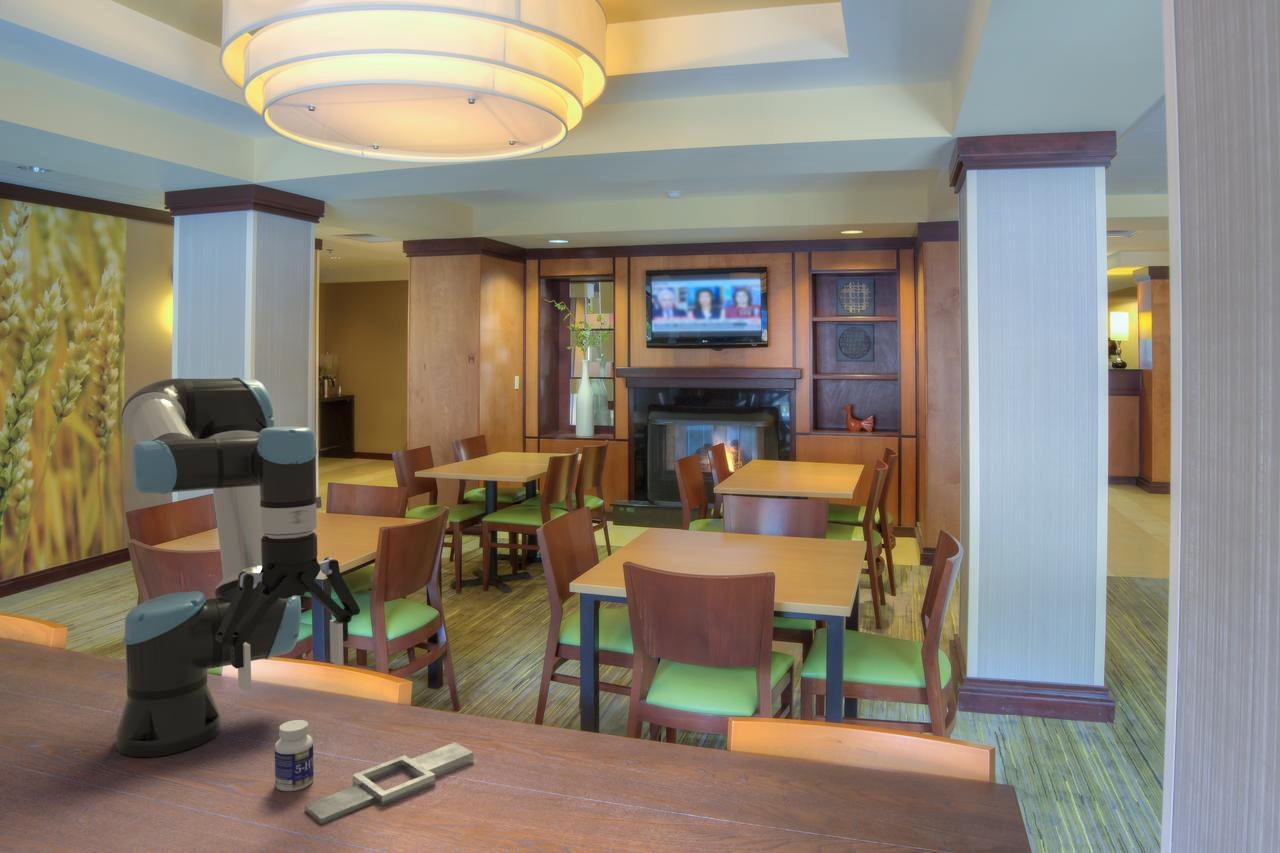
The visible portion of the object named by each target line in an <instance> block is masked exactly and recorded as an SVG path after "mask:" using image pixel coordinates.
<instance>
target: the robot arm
mask: <svg viewBox="0 0 1280 853" xmlns="http://www.w3.org/2000/svg"><path fill="white" fill-rule="evenodd" d="M120 415H121V424H122V426H123V427H122V428H123V429H124V431H125V433H126V435H128V436H129V438H131V439H132V440H133V441H134V442H136V443H135V444H133V446H132V449H131V475H132V481H133V488H134V489H135V491H136V492H138V493H140V494H160V495H165V494H170V493H178V492H192V491H203V490H213V491H212V492H213V500H214V508H215V516H216V519H215V520H216V526H217V527H216V528H217V533H218V534H217V535H218V536H217V537H218V544H219V552H220V561H221V570H222V580H221V581H220V582H219V584H217V586H216V587H215V588H214V594H215V597H213V598H207V597H206V596H205V594H204V593H203V592H201V591H198V590H189V591H177V592H172V593H167V594H163V595H161V596H157V597H154V598H150V599H147V600H145V601H143V602H141V603H140V604H138V605H136V606H134V607H132V608H131V610H129V612H128V613H127V614H126V616H125V619H124V636H123V638H122V640H123V645H125V675H126V676H125V678H126V701H125V704H124V707H123V709H122V710H123V711H122V714H121V717H120V718H119V722H118V725H117V728H116V732H115V748H116V750H117V752H118V753H120V754H121V755H124V756H126V757H134V758H152V757H162V756H167V755H173V754H176V753H181V752H184V751H187V750H190V749H194V748H197V747H199V746H201V745H202V744H203V745H204V743H206V742H208V741H210V740H211V739H213V738H214V737H216V735H218V733H219V732H221V731H220V730H221V714H220V711H219V709H218V707H217V706H218V705H217V703H216V702H215V700H214V697H213V695H212V692H211V689H210V688H209V684H208V670H211V669H215V668H223V667H227V666H232V667H233V668H235V669H236V670H237V679H238V687H239V688H240V689H242V690H243V691H245V692H250V691H252V664H251V663H252V662H254V661H258V660H263V659H264V660H269V659H270V658H275V657H278V656H283V655H287V654H289V653H290V652H292V651H293V649H294V648H295V647H296V645H297V642H298V640H299V636H300V630H301V622H302V603H301V601H302V600H301V599H302V598H301V596H305V595H306V593H307V592H308V593H309V594H310V595H311V596H312V598H314V599H315V600H316V601H317V602H318V603H320V605H322V607H324V608H325V610H327V611H328V612H329V614H331V616H333V617H334V618H335V619H330V620H329V645H330V646H329V647H330V648H329V649H330V650H329V654H330V655H329V656H330V662H331V663H332V664H333V665H336V666H338V667H342V666H344V642H347V641H348V639H349V623H350V622H351V621H352V617H354V616H358V615H359V614H360V613H361V608H360V607H359V605H358V603H357V601H356V600H355V597H354V596H353V593H352V592H351V590H350V589H349V587H348V585H347V583H346V582H345V580H344V578H343V576H342V574H341V571H340V565H339V561H338V560H337V559H334V558H332V557H329V556H327V557H325V558H324V559H323V560H321V561H318V534H317V533H316V532H315V531H314V530H316V529H317V527H318V526H317V523H318V522H317V521H318V520H317V485H316V484H317V483H316V482H317V479H316V478H317V476H316V472H317V471H316V456H317V448H316V444H315V443H316V442H315V433H314V430H312V429H311V428H310V427H307V426H275V419H274V409H273V404H272V400H271V398H270V395H269V392H268V389H267V388H266V386H265V385H264V384H263V383H262V382H261V381H260V380H258V379H253V378H240V377H232V378H167V379H163V380H159V381H156V382H153V383H151V384H148V385H146V386H144V387H142V388H140V389H138V390H137V391H136V392H134V393H133V394H132V395H130V397H129V398H128V399H127V400H126V402H125V403H124V405H123V407H122V410H121V414H120ZM320 572H321V573H323V574H324V575H325V576H326V578H327V579H328V581H329V583H330V585H331V587H332V589H333V591H334V592H335V594H336V595H337V597H338V599H339V601H340V603H341V605H342V606H343V608H342V607H341V606H340V605H339V604H338V603H337V602H336V601H335V600H334V599H333V598H332V597H331V596H330V595H328V594H327V592H326V591H325V590H324V589H323V587H321V586H320V584H318V583H317V582H316V578H317V577H318V575H319V573H320Z"/></svg>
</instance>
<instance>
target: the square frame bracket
mask: <svg viewBox="0 0 1280 853" xmlns="http://www.w3.org/2000/svg"><path fill="white" fill-rule="evenodd" d="M472 763H474V752H473V751H471V750H470V749H468V748H466V747H464V746H463V745H461V744H460V743H457V742H455V741H454V742H452V743H449V744H446V745H444V746H441V747H439V748H436V749H434V750H432V751H428V752H425V753H422V754H421V755H417V756H416V757H413V758H410V757H408V756H407V755H405V754H404V755H402V756H399V757H396V758H394V759H391V760H388V761H386V762H383V763H380V764H377V765H375V766H372V767H370V768H367V769H364V770H362V771H359V772H356V773H353V774H352V786H351V787H348V788H346V789H343V790H340V791H338V792H335V793H332V794H330V795H328V796H325V797H322V798H319V799H316V800H315V801H314V800H313V801H312V802H309V803H307V804H305V805H304V811H305V812H306V813H307V814H308V815H310V816H311V817H312V818H313V819H314V820H315V821H316V822H317V823H319V824H320V825H324V824H326V823H329V822H331V821H334V820H335V819H338V818H341V817H343V816H345V815H348V814H350V813H353V812H355V811H358V810H360V809H362V808H365V807H368V806H370V805H372V804H374V803H375V804H378V806H380V807H382V808H383V807H385V806H388V805H391V804H393V803H394V802H398V801H399V800H402V799H404V798H407V797H409V796H411V795H414V794H416V793H419V792H421V791H424V790H425V789H426V790H427V789H428V788H431V787H434V786H435V785H436V778H438V777H441V776H444V775H446V774H448V773H450V772H453V771H455V770H458V769H460V768H462V767H464V766H467V765H470V764H472ZM400 771H404V772H405V773H407V774H409V775H410V776H412V777H413V779H410V780H408V781H406V782H403V783H401V784H398V785H396V786H393V787H391V788H388V789H385V790H384V789H383V788H381V786H379V785H378V784H376V783H375V782H374V781H376V780H379V779H381V778H384V777H386V776H390V775H391V774H392V775H393V774H395V773H397V772H400Z"/></svg>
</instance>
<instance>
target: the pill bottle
mask: <svg viewBox="0 0 1280 853" xmlns="http://www.w3.org/2000/svg"><path fill="white" fill-rule="evenodd" d="M278 735H279V739H278V740H277V741H276V743H275V745H274V781H275V787H276V789H277V790H279V791H281V792H295V791H300V790H303V789H304V788H307V787H308V786H310V785H311V784H312V783H313V781H314V777H315V776H314V774H315V773H314V771H315V770H314V741H313V738H312V737H311V735H309V722H308V721H307V720H303V719H296V720H295V719H294V720H290V721H285V722H284V723H282V724H281V725H280V726H279V730H278Z"/></svg>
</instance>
